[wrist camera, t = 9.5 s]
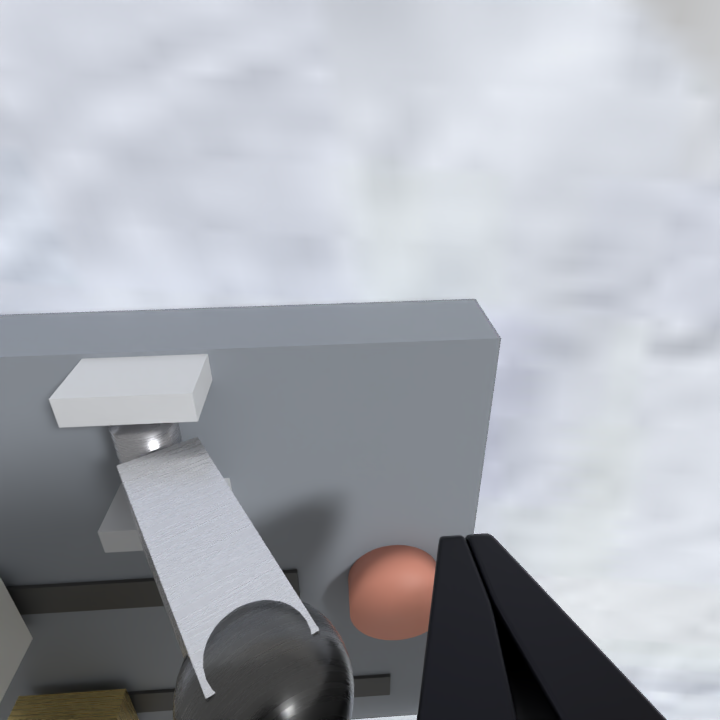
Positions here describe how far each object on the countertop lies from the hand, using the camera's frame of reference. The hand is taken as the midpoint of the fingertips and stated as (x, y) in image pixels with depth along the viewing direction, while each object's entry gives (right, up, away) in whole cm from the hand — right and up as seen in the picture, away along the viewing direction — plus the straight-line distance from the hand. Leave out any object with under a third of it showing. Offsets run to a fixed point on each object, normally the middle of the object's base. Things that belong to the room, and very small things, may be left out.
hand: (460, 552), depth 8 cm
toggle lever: (-6, +1, +2) cm, 6 cm away
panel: (-6, -2, +7) cm, 9 cm away
